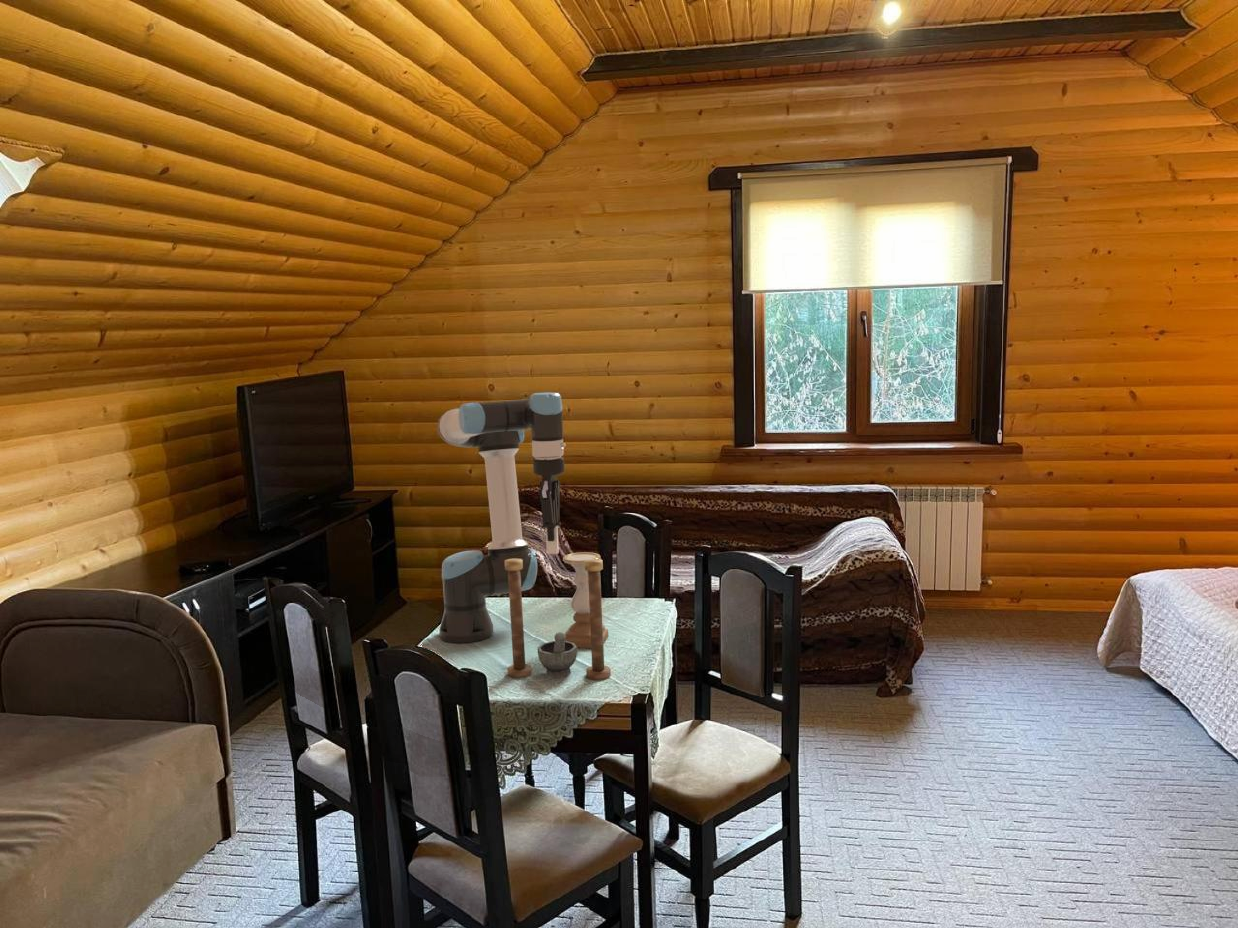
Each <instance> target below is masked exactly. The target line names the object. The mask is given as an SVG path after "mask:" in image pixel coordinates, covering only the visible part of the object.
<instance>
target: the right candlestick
mask: <svg viewBox="0 0 1238 928" xmlns="http://www.w3.org/2000/svg"><path fill="white" fill-rule="evenodd" d="M584 562H585V570H586V571H588V586H589V608H590V631H591V648H590V649H591V650H590V651H591V652H590V653H591V666H588V667H587V668H586V669H585V675H586V678H587V679H589V680H594V681H602V680H606V679H609V678H610V677H611V673H612V672H611V671H612V670H611V667H610V666H608V665H605V653H604V644H603V625H604V624H603V610H602V609H603V607H602V585H601V579H602V578H601V571H602V570H604V565H603V564H604V563H603V559H602V558H600V559H588V560H585V561H584Z"/></svg>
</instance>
